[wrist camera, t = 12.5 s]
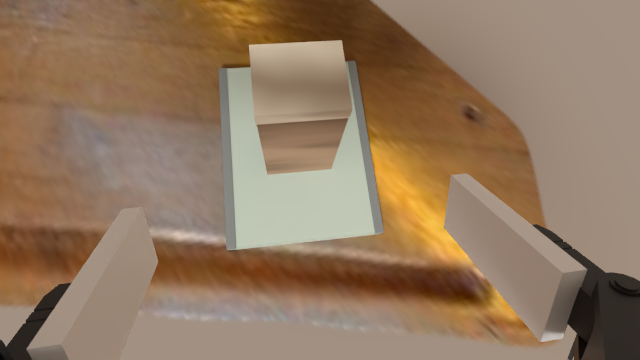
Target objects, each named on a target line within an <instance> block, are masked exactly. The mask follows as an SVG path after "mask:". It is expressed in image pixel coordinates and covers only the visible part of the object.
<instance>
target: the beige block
mask: <svg viewBox="0 0 640 360" xmlns="http://www.w3.org/2000/svg"><path fill="white" fill-rule="evenodd" d="M249 53H250V67H251V81H252V95H253V108H254V118H255V123H256V125H257V128H258V133H259V137H260V142H261V147H262V151H263V156H264V161H265V166H266V170H267V175H271V174H283V173H294V172H305V171H317V170H328V169H332V166H333V163H334V160H335V157H336V154H337V151H338V148H339V145H340V142H341V139H342V136H343V133H344V130H345V127H346V124H347V121H348V118H350V115H351V112H352V110H353V109H352V103H351V96H350V90H349V83H348V77H347V71H346V64H345V58H344V51H343V45H342V40H336V41H316V42H296V43H276V44H257V45H249Z"/></svg>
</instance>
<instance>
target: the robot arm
mask: <svg viewBox="0 0 640 360" xmlns="http://www.w3.org/2000/svg"><path fill="white" fill-rule="evenodd" d="M444 228H445V229H446V230H447V231H448V233H449V234H450V235H451V236H452V237H453V239H454V240H455V241H456V242H457V243H458V245H459V246H460V247H461V248H462V249H463V251H464V252H465V253H466V254H467V255H468V256H469V258H470V259H471V260H472V261H473V262H474V264H475V265H476V266H477V267H478V268H479V270H480V271H481V272H482V273H483V274H484V276H485V277H486V278H487V279H488V280H489V281H490V283H491V284H492V285H493V286H494V287H495V289H496V290H497V291H498V292H499V293H500V295H501V296H502V297H503V298H504V299H505V301H506V302H507V303H508V304H509V305H510V306H511V308H512V309H513V310H514V311H515V312H516V314H517V315H518V316H519V317H520V318H521V320H522V321H523V322H524V323H525V324H526V326H527V327H528V328H529V329H530V330H531V332H532V333H533V334H534V335H535V336H536V337H537V339H538V340H539V341H540V342H544V341H550V340H556V339H562V338H563V336H564V333H565V330H566V328H567V325H569V326H571V328H572V329H573V330H574V331H575V332H576V333H577V335H576V338H575V341H574V343H573V346H572V348H571V351H570V354H569V356H568V359H569V360H572V359H573V357H574V360H640V281H638V280H636V279H635V278H632V277H629V276H626V275H624V274H618V273H605V272H604V271H603V270H601V269H600V268H599V267H598V266H596V265H595V264H594V263H592V262H591V261H590V260H588V259H587V258H586V257H584V256H583V255H582V254H581V253H579V252H578V251H577V250H575V249H572V247H571V246H570V245H569V244H567V243H566V242H563V240H562V239H561V238H560V237H558V236H557V235H556V234H554V233H553V232H552V231H550V230H548V229H546V228H543V227H541V226H539V225H537V224H536V225H531V224H530V223H529V222H527V221H526V220H525V219H524V218H522V217H521V216H520V215H519V214H517V213H516V212H515V211H514V210H512V209H511V208H510V207H509V206H507V205H506V204H505V203H504V202H502V201H501V200H500V199H499V198H497V197H496V196H495V195H493V194H492V193H491V192H490V191H488V190H487V189H486V188H485V187H483V186H482V185H481V184H480V183H478V182H477V181H476V180H475V179H473V178H472V177H471V176H470V175H468V174H457V175H451V179H450V186H449V194H448V201H447V209H446V217H445V224H444ZM157 264H158V259H157V256H156V252H155V249H154V245H153V242H152V238H151V235H150V232H149V228H148V225H147V221H146V218H145V214H144V211H143V207H136V208H127V209H122V210H121V212H120V213H119V214H118V216H117V217H116V219H115V220H114V222H113V223H112V225H111V226H110V228H109V229H108V231H107V232H106V233H105V235H104V236H103V238H102V239H101V241H100V242H99V244H98V245H97V247H96V248H95V250H94V251H93V252H92V254H91V255H90V257H89V258H88V260H87V261H86V263H85V264H84V266H83V267H82V269H81V270H80V271H79V273H78V274H77V276H76V277H75V279H74V280H73V282H72V283H66V284H59V285H58V286H57V287H55V288H54V289H53V290H52V291H50V292H49V293H48V294H47V295H45V296H44V297H43V299H42V300H41V301H40V303H39V304H38V305H37V307H36V308H35V309H34V312H32V313H31V315H30V316H29V317H28V319H27V320H26V323H25V324H23V325H22V327H21V328H20V329H19V331H18V332H17V333H16V335H15V336H14V337H13V339H12V340H11V341H10V343H9V344H8V345H7V347H6V346H5V344H4V343H3V342H2V341H1V340H0V360H119V359H120V356H121V354H122V351H123V348H124V346H125V344H126V341H127V338H128V336H129V334H130V331H131V329H132V326H133V324H134V321H135V319H136V316H137V314H138V311H139V309H140V306H141V304H142V301H143V299H144V296H145V294H146V291H147V289H148V286H149V284H150V281H151V279H152V276H153V274H154V271H155V269H156V266H157Z"/></svg>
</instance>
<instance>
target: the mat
mask: <svg viewBox="0 0 640 360" xmlns="http://www.w3.org/2000/svg"><path fill="white" fill-rule="evenodd" d="M345 64H346V71H347V77H348V83H349V90H350V96H351V103H352V109H353V110H352V112H351V115H350V118H348V121H347V124H346V127H345V130H344V133H343V136H342V139H341V142H340V145H339V148H338V151H337V154H336V157H335V160H334V163H333V166H332V169H328V170H317V171H305V172H294V173H283V174H271V175H267V170H266V166H265V161H264V156H263V151H262V147H261V142H260V137H259V133H258V128H257V125H256V123H255V118H254V108H253V95H252V81H251V67H244V68H219V90H220V112H221V134H222V156H223V178H224V200H225V223H226V245H227V250H238V249H247V248H257V247H266V246H275V245H284V244H293V243H302V242H311V241H321V240H330V239H339V238H348V237H357V236H366V235H376V234H382V233H383V232H384V230H383V224H382V218H381V212H380V206H379V200H378V193H377V187H376V181H375V175H374V169H373V163H372V157H371V151H370V145H369V139H368V133H367V127H366V121H365V115H364V109H363V103H362V97H361V91H360V85H359V79H358V73H357V67H356V61H348V62H345Z"/></svg>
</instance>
